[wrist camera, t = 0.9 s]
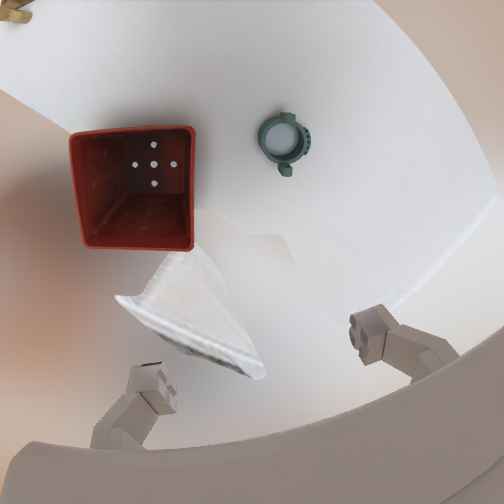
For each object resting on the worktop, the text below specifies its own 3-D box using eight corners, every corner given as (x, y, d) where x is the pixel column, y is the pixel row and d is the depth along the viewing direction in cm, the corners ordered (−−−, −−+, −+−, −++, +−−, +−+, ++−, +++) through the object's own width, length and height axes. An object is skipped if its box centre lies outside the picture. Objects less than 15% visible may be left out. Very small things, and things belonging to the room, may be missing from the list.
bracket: (276, 167, 54) (286, 181, 47) (247, 132, 50) (251, 140, 42) (312, 141, 52) (328, 150, 44) (284, 104, 47) (296, 106, 40)
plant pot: (205, 116, 48) (195, 126, 33) (201, 209, 58) (194, 252, 43) (109, 119, 45) (67, 134, 31) (115, 207, 55) (83, 248, 41)
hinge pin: (26, 10, 26) (-11, 4, 14) (36, 10, 27) (-1, 2, 15) (19, 25, 27) (-20, 22, 16) (29, 25, 29) (-10, 21, 17)
